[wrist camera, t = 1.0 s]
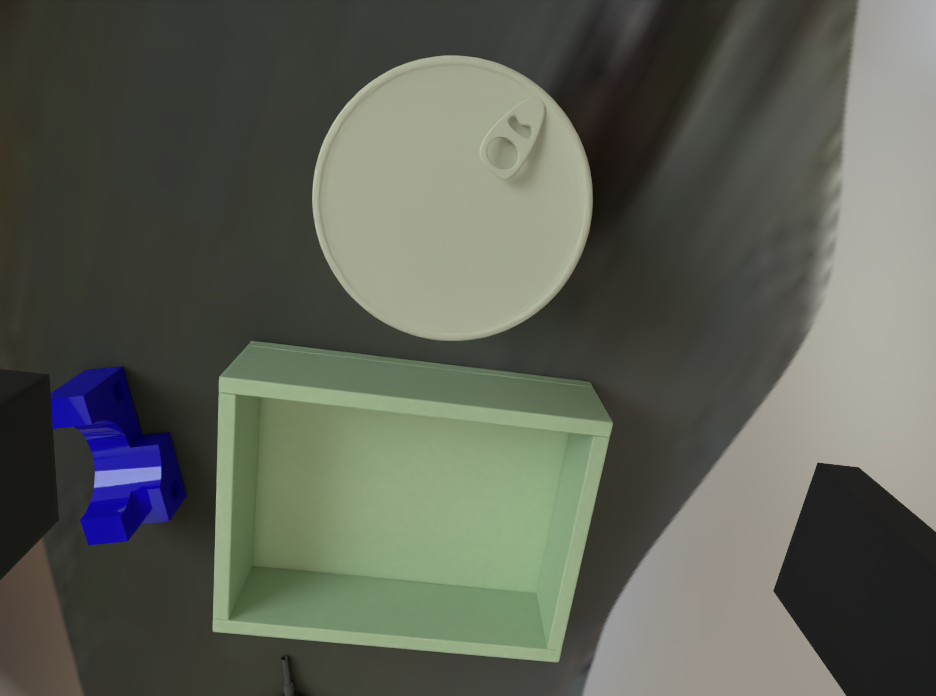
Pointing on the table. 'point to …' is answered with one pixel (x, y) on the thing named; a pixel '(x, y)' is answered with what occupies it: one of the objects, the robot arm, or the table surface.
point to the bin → (402, 501)
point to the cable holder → (119, 456)
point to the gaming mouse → (287, 678)
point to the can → (452, 198)
